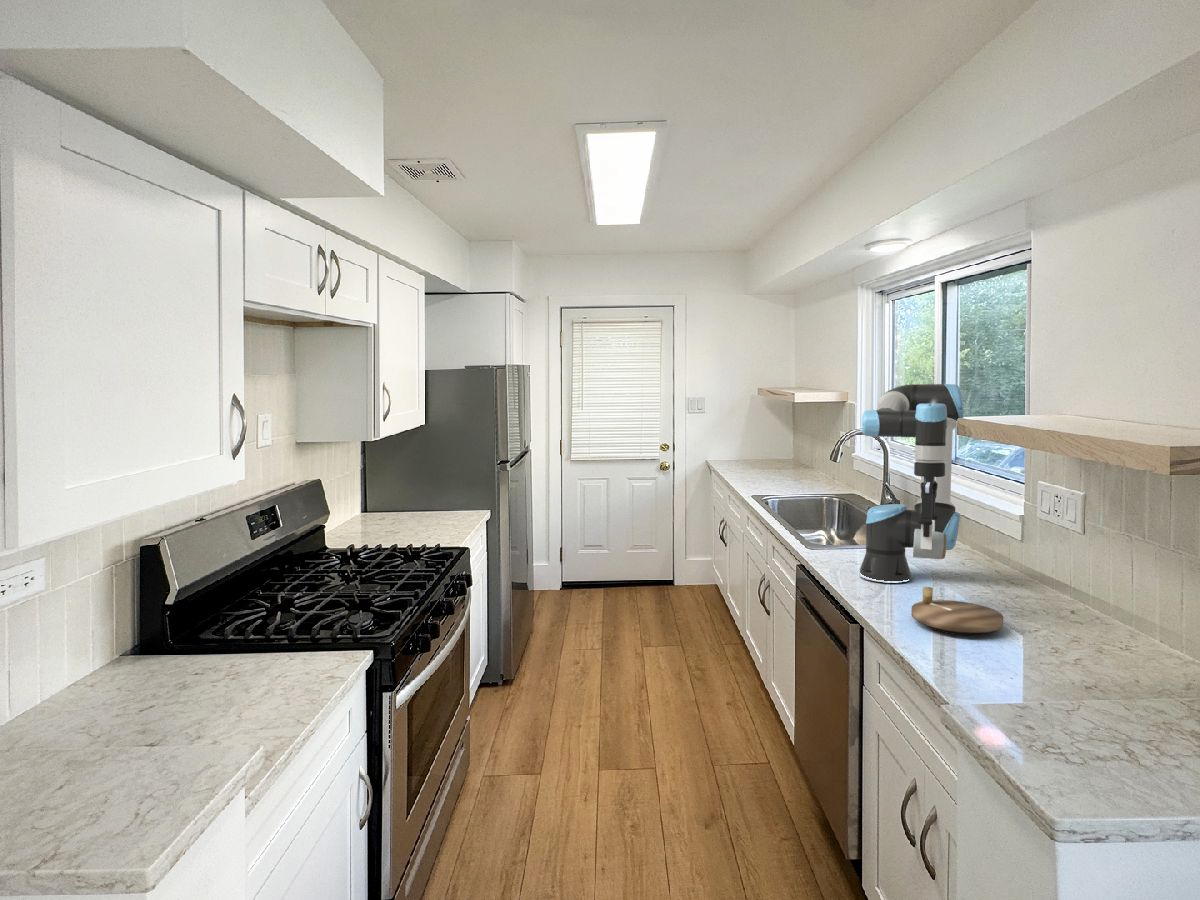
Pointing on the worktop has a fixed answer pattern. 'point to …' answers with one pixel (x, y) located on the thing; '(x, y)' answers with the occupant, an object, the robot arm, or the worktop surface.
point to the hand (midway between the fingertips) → (927, 546)
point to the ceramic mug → (937, 546)
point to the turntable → (955, 615)
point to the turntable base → (956, 631)
